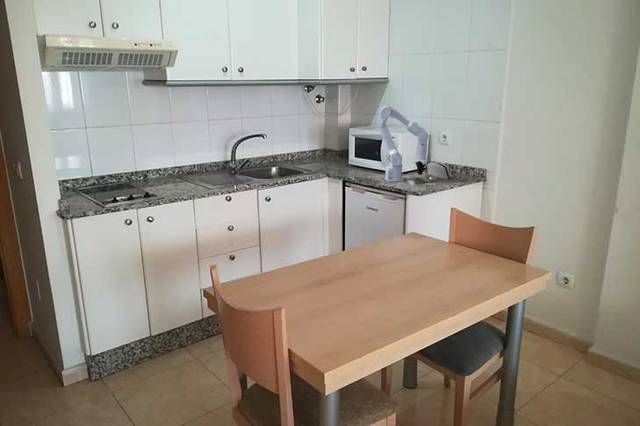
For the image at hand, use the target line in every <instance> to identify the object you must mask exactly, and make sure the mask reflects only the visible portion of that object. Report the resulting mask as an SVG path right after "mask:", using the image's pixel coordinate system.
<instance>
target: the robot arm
mask: <svg viewBox="0 0 640 426" xmlns="http://www.w3.org/2000/svg"><path fill="white" fill-rule="evenodd" d="M389 118H391V119H396V120H397V121H399V122H401V123H402V124H403V125H404V126H406V130H407V131H408V132H409V133H411V135H413V136H415V137H417V143H416V156H415V162H414V163H415V166H416V169H417V174H418V175H423V173H424V169H425V167H426V166H427V165H428V164H427V161H429V158H427V154H428V153H427V151H428V139H429V134H428V132H427V131H426V130H425V129H424V128H423V127H421V126H420V125H418V122H417V121H410V120H408V119H407V118H406V117H405V116H404V115H403V114H401V113H400V112H399V111H398V110H396V109H394V108H393V107H392V106H390V105H387V104H386V105H383V106H382V107H381V109H380V110H379V113H378V116H377V122H376V124H377V127H378V129H379V132H380V135H381V137H382V139H383V141H384V143H385V147H386V149H387V151H388V154H389V157H390V165H386V166H385V175H384V176H385V178H384V179H385V180H386V181H387V182H390V183H391V182H405V180H404V179H403V178H402V177H403V164H402V162H403V157H402V155H401V153H400V152H399V151H398V149H397V147H396V145H395V142H394V140H393V139H392V138H393V137H392V136H391V133H390V131H389V129H388V126H387V124H386V123H387V122H388V119H389Z"/></svg>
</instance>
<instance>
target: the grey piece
mask: <svg viewBox="0 0 640 426" xmlns="http://www.w3.org/2000/svg"><path fill="white" fill-rule="evenodd" d="M426 166H427V174H428V175H430V174H431V175H432V176H433V177H434V176H435V177H437V178H441V179H446V180H447V179H449V178H451V179H453V175H452V174H451V173H450V169H449V166H448V165H447V164H445V163H442V162H440V161H431V162H429V163H428V164H426Z"/></svg>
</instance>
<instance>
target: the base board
mask: <svg viewBox="0 0 640 426" xmlns="http://www.w3.org/2000/svg"><path fill="white" fill-rule="evenodd" d="M413 181H414V179H406V182H407V183H408V182H409V183H408V184H409V185H412V186H413V187H415V186H417V187H418V186H437V183H436V182H434V183H421V184H414V182H413Z"/></svg>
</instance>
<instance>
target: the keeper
mask: <svg viewBox="0 0 640 426" xmlns="http://www.w3.org/2000/svg"><path fill="white" fill-rule="evenodd" d="M421 179H422V178H421V177H420V176H417V177H415V176H413V177H412V180H414V184H421Z"/></svg>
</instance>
